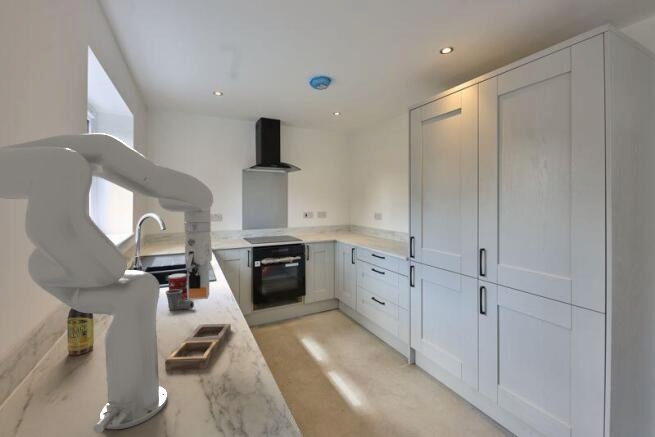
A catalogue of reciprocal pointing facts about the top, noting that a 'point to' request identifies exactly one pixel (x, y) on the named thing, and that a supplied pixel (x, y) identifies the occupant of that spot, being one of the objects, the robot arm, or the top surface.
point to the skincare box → (204, 284)
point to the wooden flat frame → (198, 347)
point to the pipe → (178, 300)
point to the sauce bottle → (80, 332)
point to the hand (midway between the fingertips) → (198, 285)
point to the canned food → (178, 283)
